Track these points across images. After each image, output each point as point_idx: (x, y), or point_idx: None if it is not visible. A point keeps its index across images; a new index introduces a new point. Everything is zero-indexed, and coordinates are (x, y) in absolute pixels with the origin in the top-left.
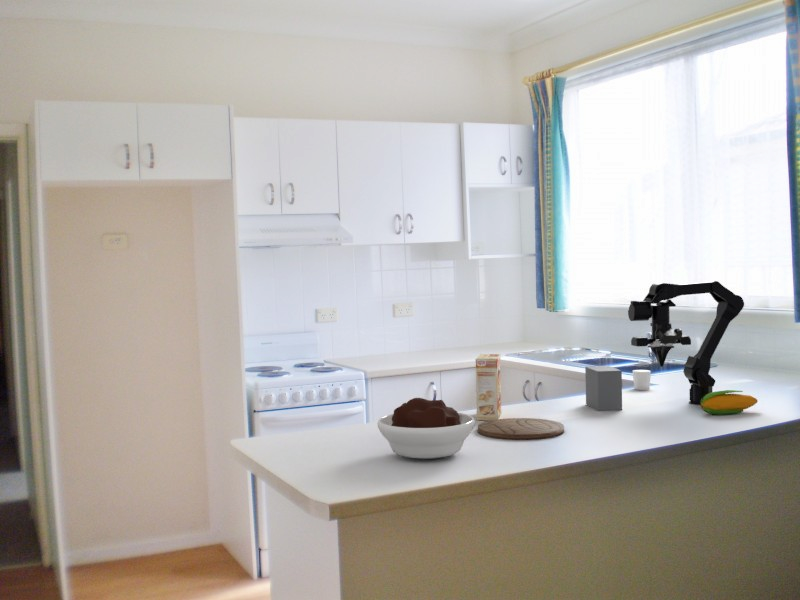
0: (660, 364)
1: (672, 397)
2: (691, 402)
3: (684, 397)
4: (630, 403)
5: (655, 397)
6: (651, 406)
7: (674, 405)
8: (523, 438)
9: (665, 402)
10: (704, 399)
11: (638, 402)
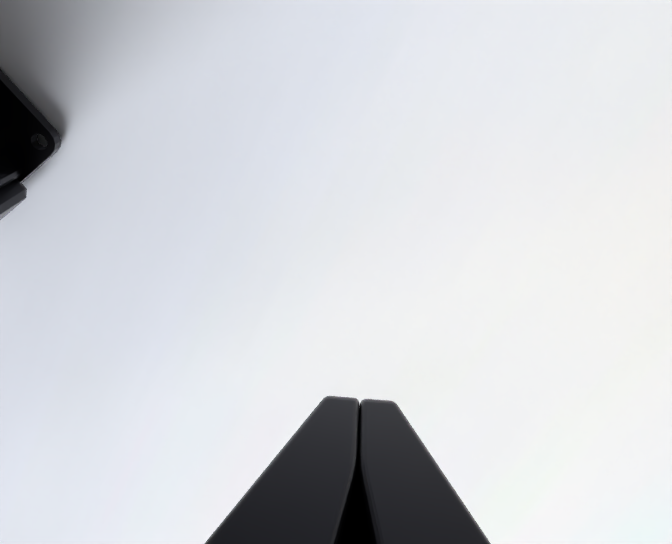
0: (411, 426)
1: (109, 463)
2: (34, 114)
3: (10, 436)
4: (617, 317)
5: None
6: (525, 88)
7: (253, 74)
8: None
9: (267, 268)
10: None
11: (513, 342)
